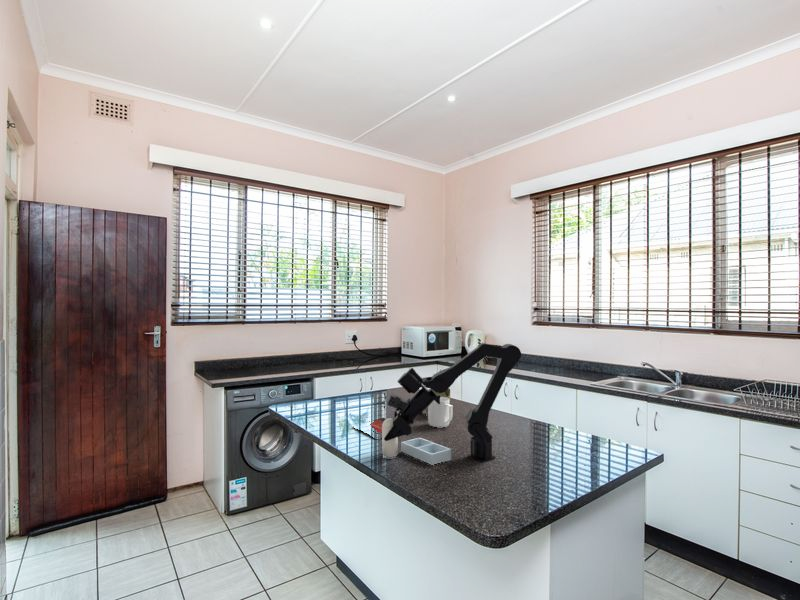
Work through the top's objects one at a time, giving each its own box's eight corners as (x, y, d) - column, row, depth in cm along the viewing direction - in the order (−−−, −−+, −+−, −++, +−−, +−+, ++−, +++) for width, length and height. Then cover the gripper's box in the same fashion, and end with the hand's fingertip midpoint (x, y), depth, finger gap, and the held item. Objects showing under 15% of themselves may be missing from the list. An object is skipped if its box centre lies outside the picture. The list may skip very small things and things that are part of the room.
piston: (420, 389, 194) (432, 385, 203) (420, 416, 194) (432, 411, 203) (443, 392, 188) (454, 388, 197) (443, 419, 188) (454, 414, 197)
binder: (383, 417, 185) (411, 428, 168) (383, 422, 185) (412, 434, 168) (350, 424, 176) (376, 437, 159) (350, 430, 176) (377, 443, 159)
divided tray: (451, 459, 139) (451, 449, 139) (431, 465, 134) (431, 454, 134) (419, 447, 151) (419, 437, 151) (401, 452, 146) (401, 442, 146)
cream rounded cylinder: (400, 457, 142) (400, 418, 142) (388, 460, 138) (388, 421, 138) (391, 452, 146) (391, 415, 146) (379, 456, 142) (378, 418, 143)
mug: (423, 425, 179) (423, 398, 179) (438, 421, 185) (438, 395, 185) (444, 431, 170) (444, 403, 170) (459, 427, 176) (459, 400, 176)
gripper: (402, 381, 151) (371, 412, 152) (400, 391, 133) (365, 427, 133) (424, 403, 151) (393, 434, 151) (426, 417, 132) (390, 452, 133)
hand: (385, 436), depth 142 cm, fingers open, 7 cm apart
